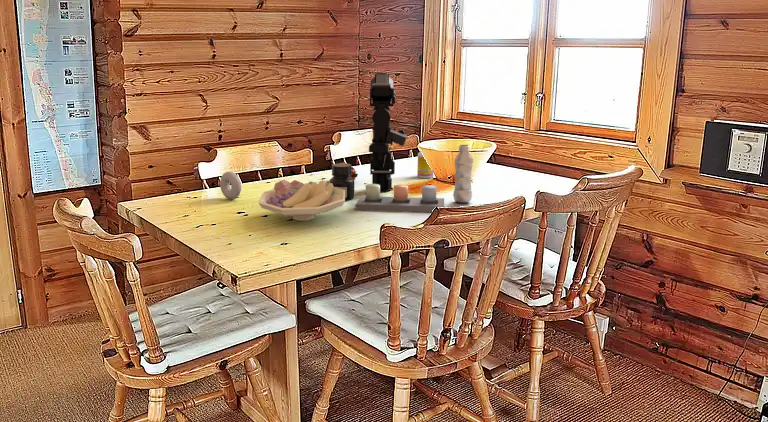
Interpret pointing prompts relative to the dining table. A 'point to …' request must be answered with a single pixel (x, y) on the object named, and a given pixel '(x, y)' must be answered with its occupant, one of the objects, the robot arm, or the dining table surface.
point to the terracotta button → (400, 192)
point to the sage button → (372, 191)
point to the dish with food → (302, 199)
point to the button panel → (398, 204)
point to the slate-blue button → (429, 193)
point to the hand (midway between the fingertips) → (381, 169)
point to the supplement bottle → (424, 166)
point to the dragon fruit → (353, 172)
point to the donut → (235, 185)
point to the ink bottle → (343, 179)
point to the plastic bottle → (463, 175)
